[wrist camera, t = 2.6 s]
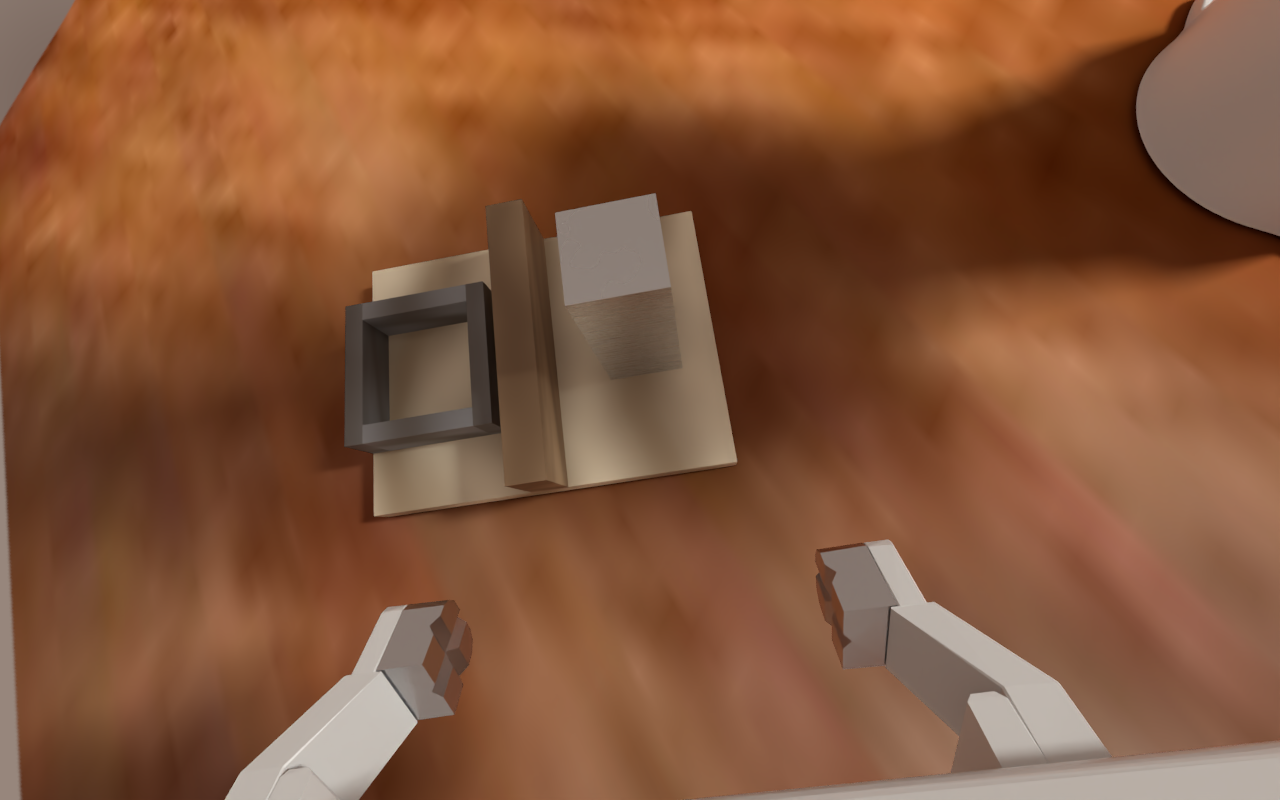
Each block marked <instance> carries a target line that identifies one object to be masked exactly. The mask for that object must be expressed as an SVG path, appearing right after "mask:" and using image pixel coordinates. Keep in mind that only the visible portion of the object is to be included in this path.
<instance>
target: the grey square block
mask: <svg viewBox="0 0 1280 800" xmlns="http://www.w3.org/2000/svg"><path fill="white" fill-rule="evenodd" d="M555 218H556V228H557V237H558V247H559V256H560V265H561V275H562V284H563V293H564V303H565V307H566V309H567V310H568V312H569V313H570V315H571V317H572V318H573V320H574V321H575V323H576V325H577V326H578V328H579V329H580V331H581V333H582V334H583V336H584V337H585V339H586V341H587V342H588V344H589V345H590V347H591V348H592V350H593V352H594V353H595V355H596V356H597V358H598V360H599V361H600V363H601V364H602V366H603V368H604V369H605V371H606V372H607V374H608V376H609V377H610V379H611V380H614V379H620V378H626V377H632V376H638V375H644V374H650V373H656V372H662V371H668V370H674V369H680V368H683V367H682V360H681V353H680V346H679V339H678V332H677V325H676V318H675V311H674V304H673V297H672V290H671V284H670V278H669V272H668V266H667V259H666V253H665V247H664V241H663V235H662V229H661V223H660V217H659V211H658V205H657V199H656V193H654V194H649V195H643V196H638V197H633V198H628V199H623V200H618V201H613V202H607V203H602V204H597V205H592V206H587V207H582V208H577V209H571V210H566V211H561V212H556V213H555Z"/></svg>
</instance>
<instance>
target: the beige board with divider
mask: <svg viewBox="0 0 1280 800" xmlns="http://www.w3.org/2000/svg"><path fill="white" fill-rule="evenodd" d="M486 221H487V235H488V250H484V251H478V252H473V253H468V254H463V255H457V256H452V257H447V258H442V259H436V260H431V261H426V262H421V263H415V264H410V265H405V266H400V267H394V268H389V269H384V270H379V271H373V272H372V284H373V302H368V303H362V304H357V305H352V306H346V324H345V441H344V447H348V448H352V449H356V450H360V451H365V452H369V453H373V461H374V516H380V517H392V516H399V515H406V514H413V513H419V512H426V511H433V510H439V509H446V508H453V507H459V506H466V505H473V504H480V503H486V502H493V501H500V500H506V499H513V498H520V497H526V496H533V495H540V494H547V493H553V492H560V491H567V490H573V489H580V488H587V487H593V486H600V485H607V484H614V483H620V482H627V481H634V480H640V479H647V478H654V477H660V476H667V475H674V474H681V473H687V472H694V471H701V470H707V469H714V468H721V467H727V466H734V465H736V463H737V458H736V452H735V447H734V441H733V436H732V430H731V425H730V419H729V414H728V408H727V403H726V397H725V392H724V386H723V381H722V375H721V370H720V364H719V359H718V353H717V348H716V343H715V337H714V332H713V326H712V321H711V315H710V310H709V304H708V299H707V293H706V288H705V282H704V277H703V271H702V266H701V260H700V255H699V249H698V244H697V238H696V233H695V228H694V222H693V217H692V211H688V212H683V213H678V214H672V215H667V216H662V217H660V223H661V229H662V235H663V241H664V247H665V253H666V259H667V266H668V272H669V278H670V284H671V290H672V297H673V304H674V311H675V318H676V325H677V332H678V339H679V346H680V353H681V360H682V367H683V368H680V369H674V370H668V371H662V372H656V373H650V374H644V375H638V376H632V377H626V378H620V379H614V380H611V379H610V377H609V376H608V374H607V372H606V371H605V369H604V368H603V366H602V364H601V363H600V361H599V360H598V358H597V356H596V355H595V353H594V352H593V350H592V348H591V347H590V345H589V344H588V342H587V341H586V339H585V337H584V336H583V334H582V333H581V331H580V329H579V328H578V326H577V325H576V323H575V321H574V320H573V318H572V317H571V315H570V313H569V312H568V310H567V309H566V307H565V303H564V293H563V284H562V275H561V265H560V256H559V247H558V237H552V238H546V239H544V238H543V237H542V235H541V233H540V231H539V229H538V228H537V226H536V224H535V222H534V220H533V219H532V217H531V215H530V213H529V211H528V210H527V208H526V206H525V204H524V202H523V201H522V199H519V200H514V201H509V202H504V203H499V204H494V205H489V206H486Z"/></svg>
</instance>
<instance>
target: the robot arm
mask: <svg viewBox="0 0 1280 800" xmlns="http://www.w3.org/2000/svg"><path fill="white" fill-rule="evenodd" d="M1136 116H1137V123H1138V128H1139V132H1140V135H1141V138H1142V141H1143V143H1144V145H1145V147H1146V149H1147V151H1148V153H1149V155H1150V156H1151V158H1152V160H1153V161H1154V163H1155V164H1156V165H1157V167H1158V168H1159V169H1160V171H1161V172H1162V173H1163V174H1164V175H1165V176H1166V177H1167V178H1168V180H1169V181H1170V182H1171V183H1172V184H1174V185H1175V186H1176V187H1177V188H1178V189H1179V190H1180V191H1182V192H1183V193H1184V194H1185V195H1187V196H1188V197H1189V198H1191V199H1192V200H1193V201H1195V202H1196V203H1198V204H1200V205H1201V206H1203V207H1204V208H1206V209H1208V210H1210V211H1212V212H1214V213H1216V214H1218V215H1220V216H1222V217H1224V218H1226V219H1229V220H1231V221H1234V222H1236V223H1239V224H1242V225H1245V226H1248V227H1251V228H1254V229H1258V230H1261V231H1265V232H1268V233H1271V234H1274V235H1277V236H1280V0H1195V1H1194V3H1193V5H1192V7H1191V9H1190V11H1189V14H1188V17H1187V20H1186V24H1185V27H1184V29H1183V31H1182V32H1181V33H1180V35H1179V36H1178V37H1177V38H1176V39H1175V40H1174V41H1172V42H1171V43H1170V44H1169V45H1168V46H1167V47H1166V48H1165V49H1164V50H1162V51H1161V52H1160V53H1159V54H1158V56H1157V57H1156V58H1155V59H1154V60H1153V61H1152V63H1151V64H1150V66H1149V67H1148V69H1147V70H1146V72H1145V74H1144V76H1143V78H1142V81H1141V83H1140V86H1139V90H1138V94H1137V101H1136ZM815 562H816V565H817V567H818V570H819V573H818V574H817V575H816V588H817V593H818V599H819V603H820V607H821V610H822V613H823V616H824V619H825V621H826V622H827V623H829V624H830V625H831V626H832V641H833V644H834V646H835V649H836V652H837V655H838V657H839V660H840V663H841V665H842V668H843V669H851V668H863V667H874V666H885V665H886V669H888V670H889V671H890V672H891V673H892V674H893V675H894V676H895V677H896V678H897V679H898V680H899V681H900V682H902V683H903V684H904V685H905V686H906V687H907V688H908V689H909V690H910V691H911V692H912V693H913V694H914V695H915V696H917V697H918V698H919V699H920V700H921V701H922V702H923V703H924V704H925V705H926V706H927V707H928V708H929V709H931V710H932V711H933V712H934V713H935V714H936V715H937V716H938V717H939V718H940V719H941V720H942V721H943V722H944V723H946V724H947V725H948V726H949V727H950V728H951V729H952V730H953V731H954V732H955V733H956V734H957V735H958V736H959V740H958V745H957V749H956V753H955V757H954V761H953V766H952V770H951V773H948V774H938V775H928V776H918V777H908V778H898V779H888V780H878V781H868V782H858V783H848V784H838V785H828V786H817V787H807V788H797V789H787V790H777V791H767V792H756V793H746V794H736V795H726V796H716V797H705V798H695V799H685V800H1280V741H1270V742H1260V743H1250V744H1240V745H1230V746H1220V747H1209V748H1199V749H1189V750H1179V751H1169V752H1159V753H1149V754H1139V755H1129V756H1119V757H1112V756H1111V755H1110V753H1109V752H1108V750H1107V749H1106V748H1105V746H1104V745H1103V743H1102V742H1101V741H1100V739H1099V738H1098V736H1097V735H1096V734H1095V732H1094V731H1093V729H1092V728H1091V727H1090V725H1089V724H1088V722H1087V721H1086V720H1085V718H1084V717H1083V715H1082V714H1081V713H1080V711H1079V710H1078V708H1077V707H1076V706H1075V704H1074V703H1073V701H1072V700H1071V699H1070V697H1069V696H1068V694H1067V693H1066V692H1065V690H1064V689H1063V687H1062V686H1061V685H1060V683H1059V682H1057V681H1056V680H1054V679H1053V678H1051V677H1050V676H1048V675H1047V674H1045V673H1043V672H1042V671H1040V670H1039V669H1037V668H1036V667H1034V666H1033V665H1031V664H1030V663H1028V662H1026V661H1025V660H1023V659H1022V658H1020V657H1019V656H1017V655H1016V654H1014V653H1013V652H1011V651H1009V650H1008V649H1006V648H1005V647H1003V646H1002V645H1000V644H999V643H997V642H996V641H994V640H992V639H991V638H989V637H988V636H986V635H985V634H983V633H982V632H980V631H979V630H977V629H975V628H974V627H972V626H971V625H969V624H968V623H966V622H965V621H963V620H962V619H960V618H958V617H957V616H955V615H954V614H952V613H951V612H949V611H948V610H946V609H945V608H943V607H941V606H940V605H938V604H937V603H935V602H928V603H927V602H926V600H925V599H924V597H923V595H922V593H921V592H920V590H919V588H918V587H917V585H916V583H915V581H914V580H913V578H912V576H911V574H910V573H909V571H908V569H907V567H906V566H905V564H904V562H903V561H902V559H901V557H900V555H899V554H898V552H897V550H896V548H895V547H894V545H893V543H892V542H891V541H889V540H880V541H873V542H866V543H857V544H850V545H843V546H837V547H830V548H823V549H817V550H816V553H815ZM459 611H460V609H459V607H458V606H457V604H456V602H455V601H454V600H446V601H436V602H427V603H418V604H409V605H402V606H393V607H387V608H386V609H385V610H384V611H383V612H382V613H381V615H380V617H379V619H378V621H377V623H376V625H375V627H374V629H373V632H372V634H371V636H370V638H369V640H368V642H367V644H366V646H365V648H364V650H363V652H362V654H361V656H360V658H359V660H358V662H357V664H356V666H355V669H354V671H353V673H352V675H347V676H344V677H343V678H342V679H341V680H340V681H339V682H338V683H337V684H336V685H335V686H334V687H332V688H331V689H330V690H329V691H328V692H327V693H326V694H325V695H324V696H323V697H322V698H321V699H319V700H318V701H317V702H316V703H315V704H314V705H313V706H312V707H311V708H310V709H309V710H308V711H306V712H305V713H304V714H303V715H302V716H301V717H300V718H299V719H298V720H297V721H296V722H295V723H293V724H292V725H291V726H290V727H289V728H288V729H287V730H286V731H285V732H284V733H283V734H282V735H280V736H279V737H278V738H277V739H276V740H275V741H274V742H273V743H272V744H271V745H270V746H269V747H267V748H266V749H265V750H264V751H263V752H262V753H261V754H260V755H259V756H258V757H257V758H256V759H254V760H253V761H252V762H251V763H250V764H249V765H248V766H247V767H246V768H245V769H244V770H243V771H241V772H240V774H239V776H238V777H237V779H236V781H235V783H234V784H233V786H232V788H231V790H230V791H229V793H228V795H227V796H226V798H225V800H359V799H360V797H361V796H362V795H363V793H364V792H365V791H366V790H367V788H368V787H369V786H370V784H371V783H372V782H373V780H374V779H375V778H376V776H377V775H378V774H379V772H380V771H381V770H382V769H383V767H384V766H385V765H386V763H387V762H388V761H389V759H390V758H391V757H392V755H393V754H394V753H395V752H396V750H397V749H398V748H399V746H400V745H401V744H402V742H403V741H404V740H405V738H406V737H407V736H408V734H409V733H410V732H411V731H412V729H413V728H414V727H415V725H416V724H417V720H421V719H428V718H435V717H442V716H448V715H455V711H456V708H457V704H458V701H459V698H460V694H461V691H462V687H463V683H462V681H461V678H460V674H461V673H462V672H463V671H464V670H465V669H466V668H467V667H468V666H469V663H470V659H471V655H472V642H473V638H472V634H471V630H470V628H469V626H468V624H467V622H465V621H464V620H462V619H460V618H458V614H459Z"/></svg>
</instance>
